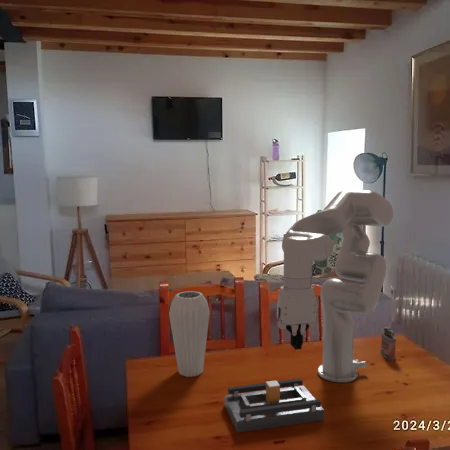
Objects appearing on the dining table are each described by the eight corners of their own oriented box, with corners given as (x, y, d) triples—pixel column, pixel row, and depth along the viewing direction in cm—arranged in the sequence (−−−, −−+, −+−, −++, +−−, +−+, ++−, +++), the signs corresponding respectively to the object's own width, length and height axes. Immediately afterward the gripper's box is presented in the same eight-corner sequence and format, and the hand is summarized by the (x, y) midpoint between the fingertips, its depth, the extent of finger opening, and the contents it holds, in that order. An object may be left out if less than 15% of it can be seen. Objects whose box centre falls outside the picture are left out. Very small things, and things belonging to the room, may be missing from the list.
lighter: (378, 351, 169) (379, 324, 168) (387, 350, 170) (388, 324, 168) (388, 360, 161) (389, 332, 160) (397, 359, 162) (398, 332, 160)
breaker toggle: (276, 398, 130) (276, 380, 129) (279, 403, 127) (279, 385, 126) (265, 399, 129) (265, 381, 129) (269, 405, 126) (269, 386, 126)
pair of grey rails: (300, 385, 138) (300, 378, 137) (320, 410, 124) (321, 402, 124) (227, 394, 133) (227, 387, 132) (241, 421, 119) (241, 413, 119)
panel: (303, 394, 138) (303, 379, 137) (323, 420, 125) (324, 402, 124) (224, 405, 133) (224, 388, 132) (237, 432, 119) (237, 414, 119)
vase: (205, 382, 147) (204, 301, 143) (165, 379, 149) (163, 299, 146) (214, 364, 160) (213, 289, 156) (177, 361, 162) (175, 288, 159)
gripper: (317, 277, 131) (316, 340, 133) (266, 280, 127) (266, 345, 130) (329, 284, 123) (327, 350, 126) (275, 287, 120) (275, 355, 122)
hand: (296, 347), depth 128 cm, fingers closed
